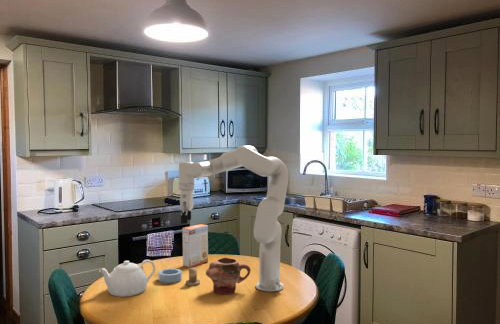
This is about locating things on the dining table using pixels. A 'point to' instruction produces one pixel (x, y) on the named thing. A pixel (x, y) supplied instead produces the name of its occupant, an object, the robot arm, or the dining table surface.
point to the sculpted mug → (226, 274)
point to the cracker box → (195, 245)
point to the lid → (192, 277)
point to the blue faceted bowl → (170, 276)
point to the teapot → (127, 279)
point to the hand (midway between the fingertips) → (186, 221)
